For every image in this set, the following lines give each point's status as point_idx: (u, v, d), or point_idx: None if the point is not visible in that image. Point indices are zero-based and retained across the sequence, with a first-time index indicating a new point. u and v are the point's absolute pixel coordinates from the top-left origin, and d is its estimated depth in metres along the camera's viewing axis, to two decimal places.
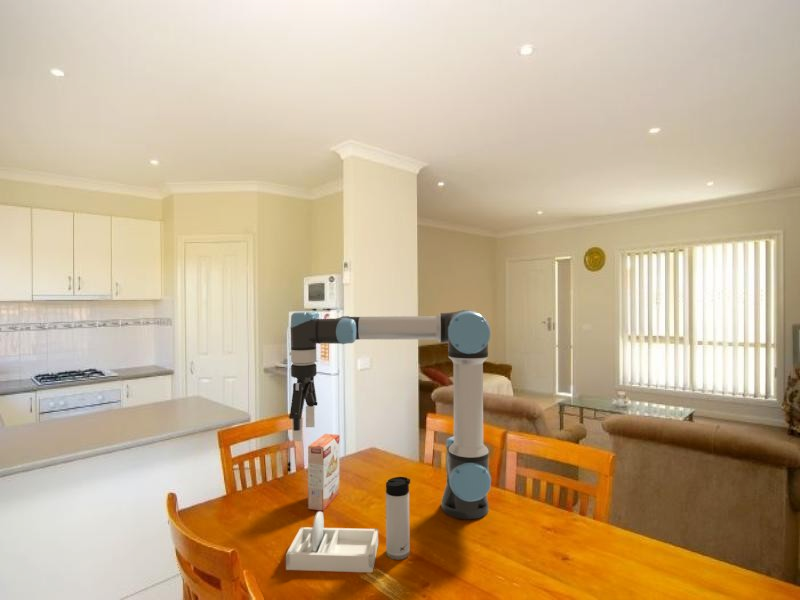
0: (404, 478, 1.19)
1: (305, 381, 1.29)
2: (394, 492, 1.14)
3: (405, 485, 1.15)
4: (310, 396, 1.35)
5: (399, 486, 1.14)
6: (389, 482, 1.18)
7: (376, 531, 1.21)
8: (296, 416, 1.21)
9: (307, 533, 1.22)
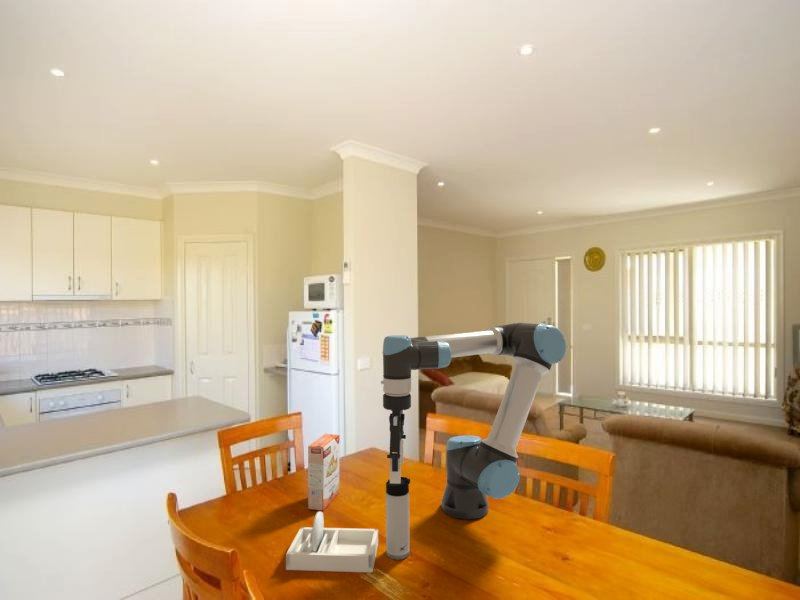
0: (404, 478, 1.19)
1: (400, 414, 1.15)
2: (394, 492, 1.14)
3: (405, 485, 1.15)
4: None
5: (399, 486, 1.14)
6: (389, 482, 1.18)
7: (376, 531, 1.21)
8: (397, 456, 1.07)
9: (307, 533, 1.22)
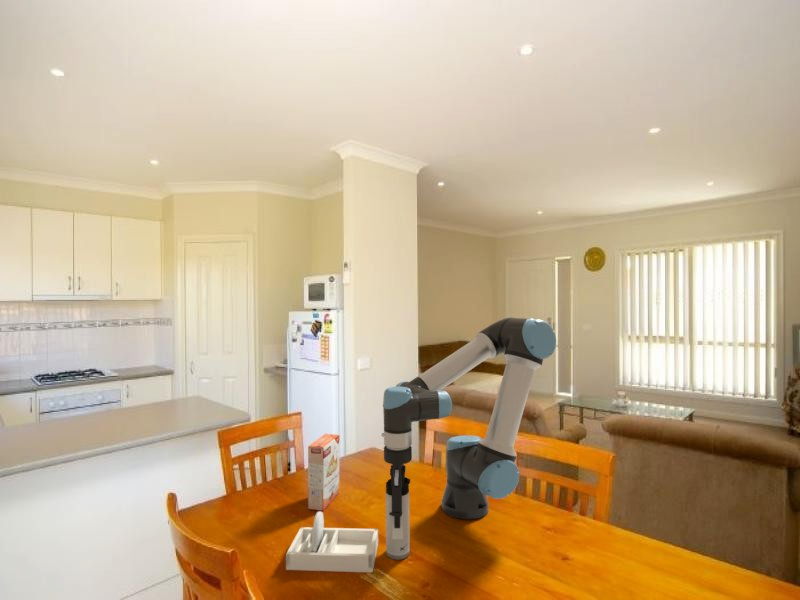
0: None
1: (401, 467, 1.14)
2: None
3: (405, 485, 1.15)
4: None
5: None
6: (389, 482, 1.18)
7: (376, 531, 1.21)
8: (399, 514, 1.10)
9: (307, 533, 1.22)
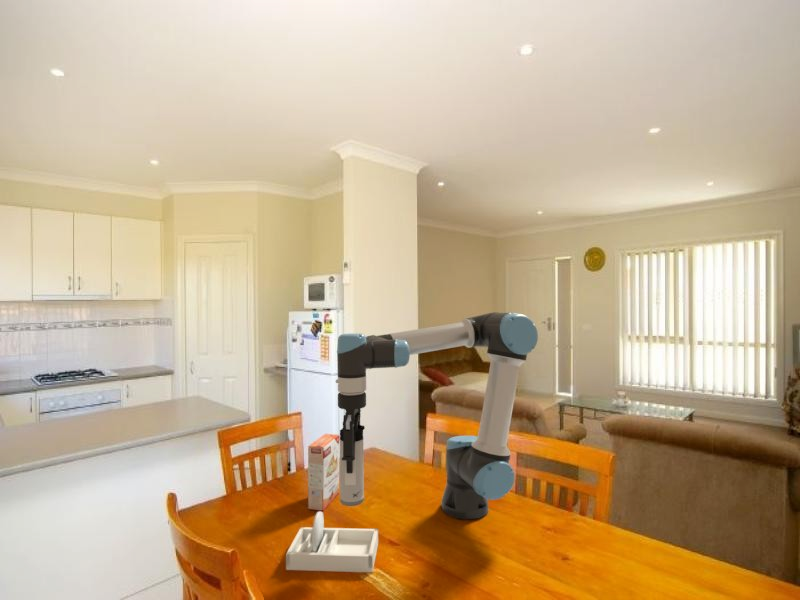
0: None
1: (354, 412, 1.13)
2: None
3: (358, 431, 1.13)
4: None
5: None
6: None
7: (376, 531, 1.21)
8: (350, 458, 1.09)
9: (307, 533, 1.22)
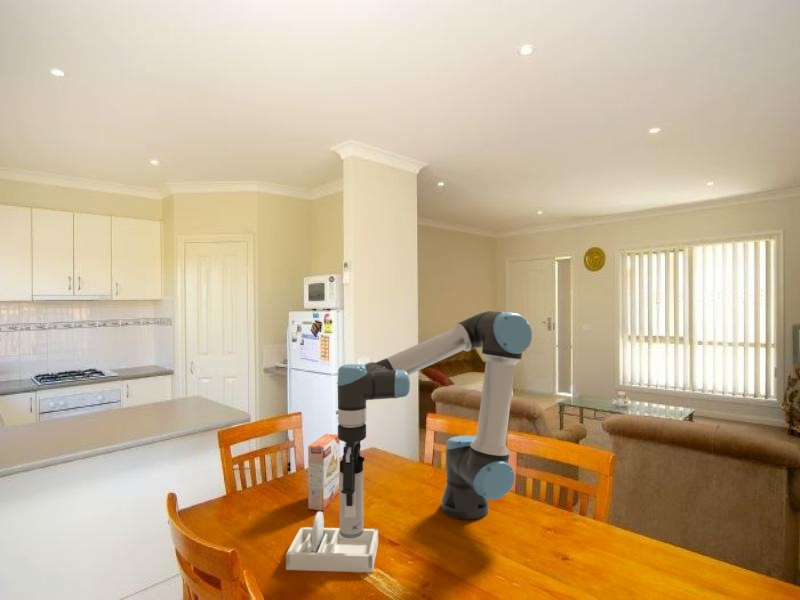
0: None
1: (354, 444, 1.13)
2: None
3: (358, 463, 1.13)
4: None
5: None
6: None
7: (376, 531, 1.21)
8: (350, 491, 1.09)
9: (307, 533, 1.22)
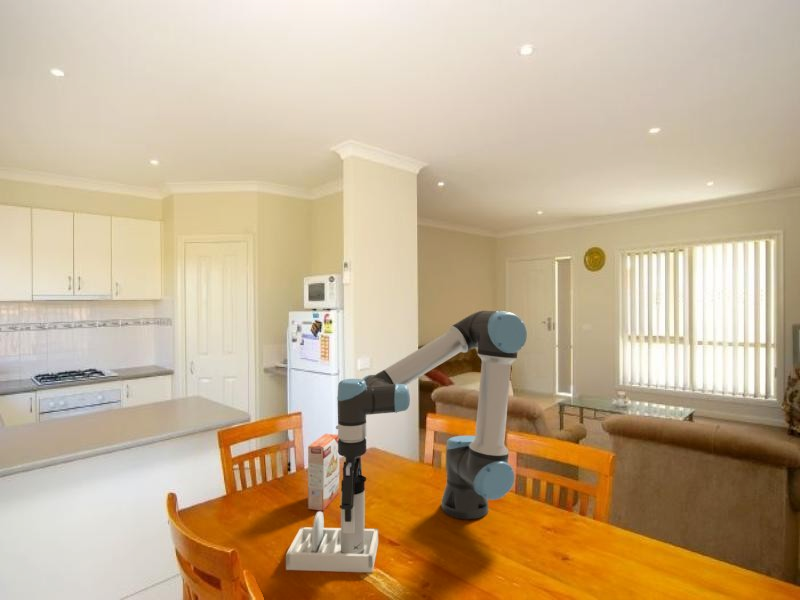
0: (360, 476, 1.17)
1: (355, 460, 1.13)
2: None
3: (360, 483, 1.13)
4: (357, 474, 1.19)
5: None
6: None
7: (376, 531, 1.21)
8: (349, 507, 1.06)
9: (307, 533, 1.22)
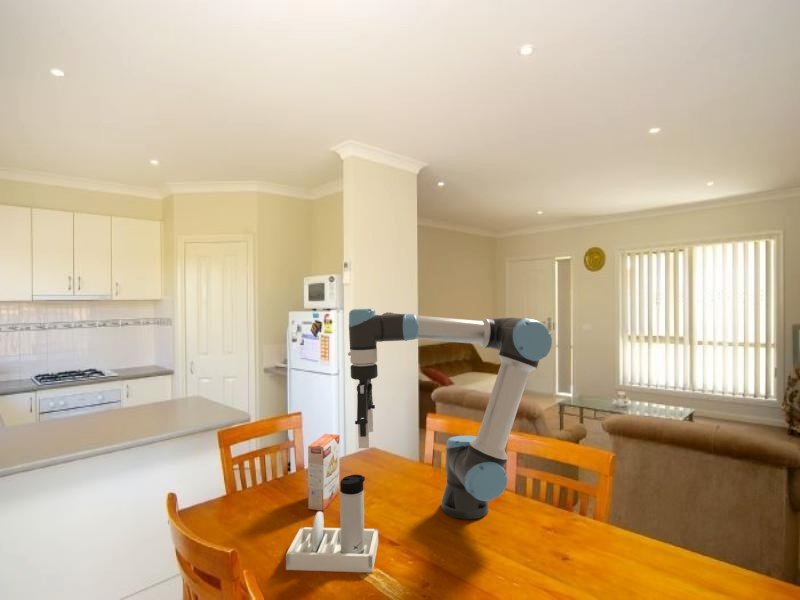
0: (359, 476, 1.17)
1: (367, 383, 1.20)
2: (347, 490, 1.13)
3: (359, 483, 1.13)
4: None
5: (352, 484, 1.13)
6: (344, 480, 1.16)
7: (376, 531, 1.21)
8: (364, 421, 1.12)
9: (307, 533, 1.22)
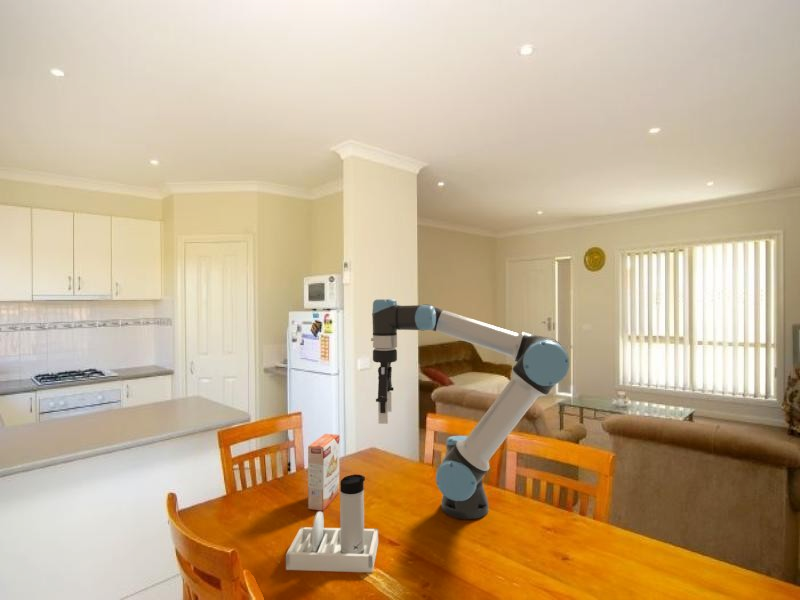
0: (359, 476, 1.18)
1: None
2: (347, 490, 1.13)
3: (359, 483, 1.13)
4: (388, 381, 1.39)
5: (352, 484, 1.13)
6: (344, 480, 1.16)
7: (376, 531, 1.21)
8: (384, 399, 1.25)
9: (307, 533, 1.22)
